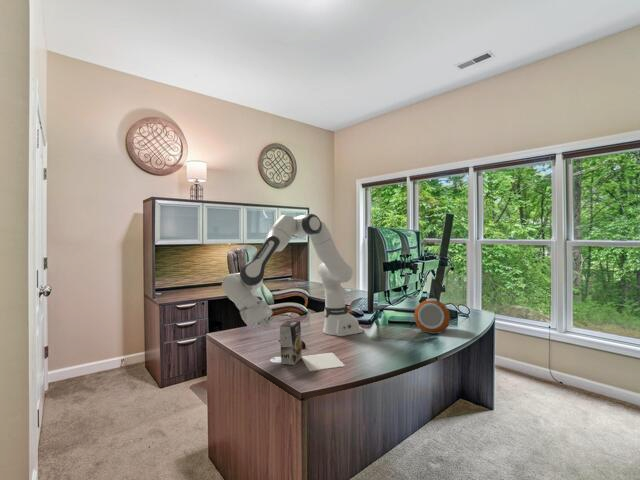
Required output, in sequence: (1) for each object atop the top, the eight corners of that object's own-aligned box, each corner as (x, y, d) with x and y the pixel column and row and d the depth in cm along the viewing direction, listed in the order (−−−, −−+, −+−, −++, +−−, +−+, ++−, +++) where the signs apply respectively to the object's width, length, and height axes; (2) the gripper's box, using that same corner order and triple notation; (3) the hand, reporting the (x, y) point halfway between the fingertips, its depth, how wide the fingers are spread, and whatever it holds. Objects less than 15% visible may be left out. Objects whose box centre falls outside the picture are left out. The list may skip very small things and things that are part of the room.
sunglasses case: (276, 340, 170) (282, 328, 171) (287, 345, 172) (293, 333, 174) (289, 350, 154) (296, 337, 155) (301, 356, 156) (307, 343, 158)
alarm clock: (412, 332, 179) (412, 301, 179) (415, 324, 196) (415, 295, 195) (450, 336, 172) (449, 303, 172) (450, 327, 188) (450, 297, 188)
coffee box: (295, 365, 136) (293, 326, 136) (280, 364, 138) (278, 326, 138) (302, 356, 145) (300, 320, 145) (289, 355, 147) (287, 320, 146)
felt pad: (332, 353, 150) (332, 352, 150) (345, 366, 135) (345, 365, 135) (300, 357, 146) (300, 356, 146) (309, 371, 130) (309, 370, 130)
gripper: (242, 305, 135) (265, 330, 133) (262, 296, 155) (282, 317, 153) (233, 315, 136) (255, 340, 134) (254, 305, 156) (273, 326, 154)
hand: (269, 328), depth 144 cm, fingers closed
